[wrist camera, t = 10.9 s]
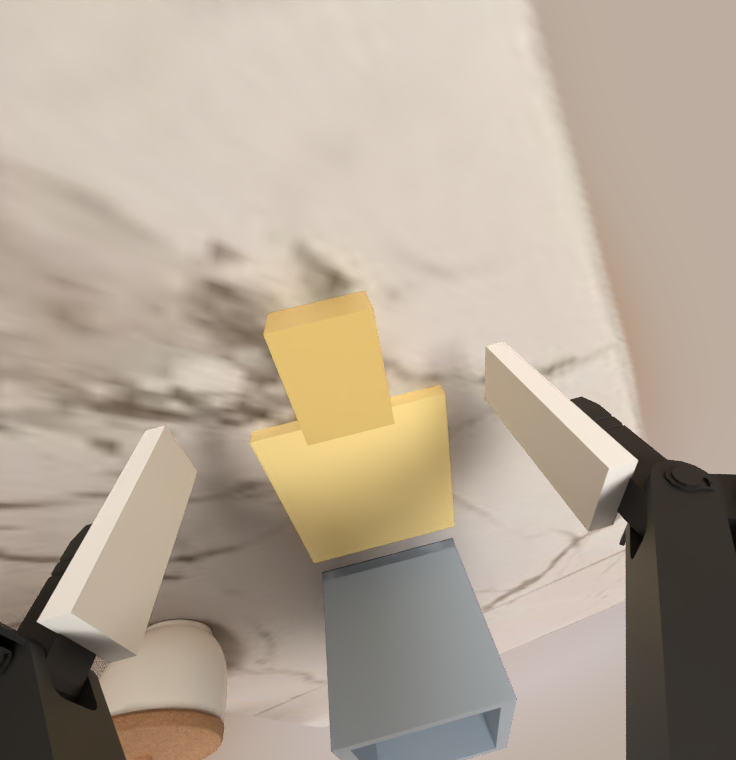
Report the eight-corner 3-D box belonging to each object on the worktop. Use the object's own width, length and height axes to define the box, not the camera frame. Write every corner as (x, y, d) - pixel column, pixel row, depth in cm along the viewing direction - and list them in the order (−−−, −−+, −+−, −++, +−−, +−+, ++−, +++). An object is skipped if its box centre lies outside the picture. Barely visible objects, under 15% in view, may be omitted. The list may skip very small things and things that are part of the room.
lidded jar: (256, 613, 32) (240, 758, 24) (213, 663, 36) (188, 802, 28) (129, 598, 28) (61, 769, 20) (97, 657, 32) (30, 819, 24)
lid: (199, 330, 17) (185, 353, 15) (430, 274, 17) (448, 290, 15) (313, 551, 29) (314, 582, 27) (450, 515, 29) (461, 543, 27)
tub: (322, 572, 30) (331, 751, 21) (452, 538, 31) (516, 698, 21) (354, 636, 38) (370, 787, 29) (457, 608, 38) (506, 747, 29)
